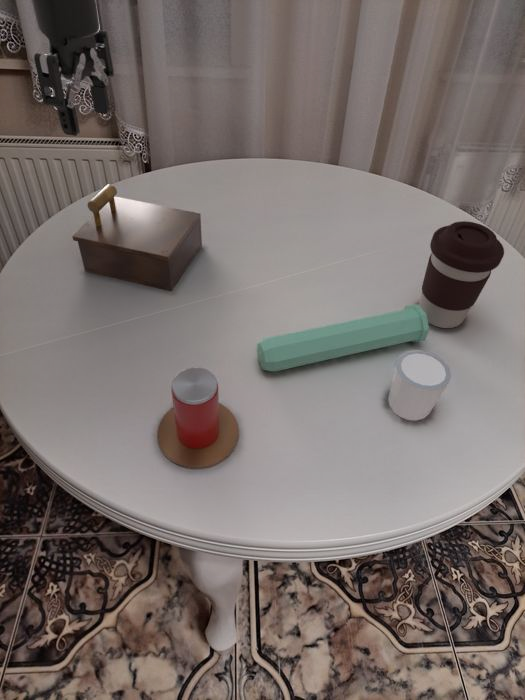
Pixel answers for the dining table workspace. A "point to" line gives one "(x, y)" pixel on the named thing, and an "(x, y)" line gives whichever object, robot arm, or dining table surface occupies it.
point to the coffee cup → (458, 271)
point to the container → (343, 339)
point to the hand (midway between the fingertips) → (88, 122)
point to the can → (196, 407)
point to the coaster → (204, 455)
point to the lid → (135, 225)
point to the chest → (142, 262)
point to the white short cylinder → (417, 384)
